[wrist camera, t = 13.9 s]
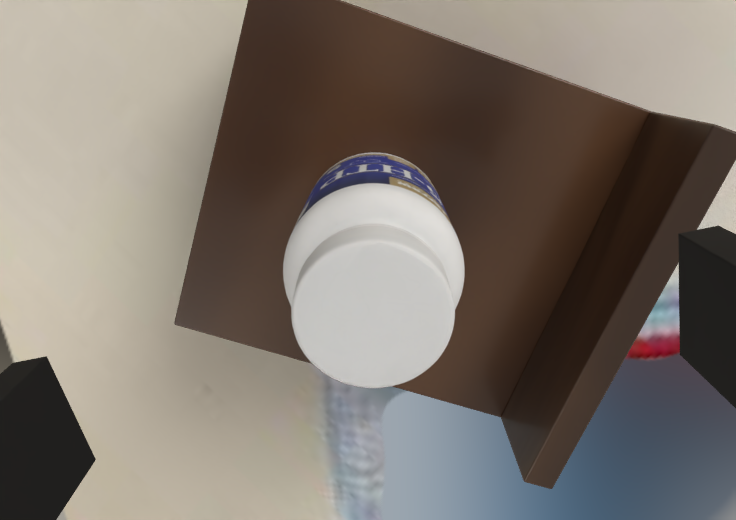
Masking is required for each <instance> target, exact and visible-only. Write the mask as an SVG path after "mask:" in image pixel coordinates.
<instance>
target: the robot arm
mask: <svg viewBox="0 0 736 520" xmlns="http://www.w3.org/2000/svg"><path fill="white" fill-rule="evenodd" d="M678 241H679V316H680V355H681V356H682V357H683V358H684V359H685V360H686V361H688V363H689V364H690V365H691V366H692V367H693V368H694V369H695V370H696V371H698V372H699V373H700V374H701V375H702V376H703V377H704V378H705V379H706V380H707V381H708V382H709V383H710V384H711V385H712V386H713V387H714V388H716V390H717V391H718V392H719V393H720V394H721V395H723V396H724V397H725V398H726V399H727V400H728V401H729V402H730V403H731V404H732V405H733V406H734V407H735V408H736V234H734V233H732V232H730V231H728V230H726V229H724V228H722V227H720V226H715V227H710V228H705V229H699V230H694V231H689V232H684V233H679V234H678ZM95 460H96V459H95V457H94V455H93V453H92V451H91V449H90V447H89V445H88V442H87V440H86V438H85V436H84V434H83V432H82V430H81V428H80V426H79V423H78V421H77V419H76V417H75V415H74V413H73V411H72V409H71V407H70V405H69V402H68V400H67V398H66V396H65V394H64V392H63V390H62V388H61V386H60V384H59V381H58V379H57V377H56V375H55V373H54V371H53V369H52V367H51V365H50V363H49V360H48V358H47V356H46V357H41V358H36V359H31V360H26V361H21V362H16V363H12V364H11V365H10V366H9V367H8V368H7V369H6V370H4V371H3V372H2V373H1V374H0V520H56V519H57V518H58V516H59V515H60V513H61V512H62V510H63V509H64V507H65V506H66V504H67V502H68V501H69V499H70V498H71V496H72V495H73V493H74V492H75V490H76V489H77V487H78V486H79V484H80V483H81V481H82V480H83V478H84V477H85V475H86V474H87V472H88V471H89V469H90V468H91V466H92V465H93V463H94V462H95Z"/></svg>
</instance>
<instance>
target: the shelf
mask: <svg viewBox="0 0 736 520" xmlns="http://www.w3.org/2000/svg"><path fill="white" fill-rule="evenodd" d="M362 153H386V154H391V155H394V156H398V157H400V158H402V159H404V160H406V161H408V162H410V163H412V164H413V165H415V166H416V167H418V168H419V169H420V170H421V171H422V172H423V173H424V174H425V175H426V176H427V177H428V178H429V180H430V181H431V183H432V184H433V186H434V187H435V189H436V191H437V193H438V195H439V197H440V199H441V202H442V204H443V206H444V208H445V210H446V213H447V215H448V217H449V219H450V221H451V223H452V226H453V228H454V230H455V232H456V234H457V237H458V240H459V243H460V245H461V249H462V253H463V258H464V267H465V276H464V285H463V290H462V294H461V297H460V300H459V302H458V305H457V307H456V309H455V321H454V327H453V331H452V335H451V337H450V340H449V342H448V345H447V346H446V348H445V350H444V352H443V353H442V355H441V356H440V357H439V359H438V360H437V361H436V362H435V363H434V364H433V365H432V366H431V367H430V368H428V369H427V370H426V371H425V372H423V373H422V374H420V375H419V376H417V377H416V378H414V379H412V380H409V381H407V382H405V383H402V384H398V385H395V386H393V387H396V388H400V389H403V390H407V391H410V392H414V393H417V394H421V395H424V396H428V397H431V398H435V399H439V400H442V401H446V402H449V403H453V404H456V405H460V406H463V407H467V408H470V409H474V410H477V411H481V412H484V413H488V414H491V415H495V416H498V417H501V419H502V422H503V425H504V427H505V430H506V433H507V436H508V439H509V441H510V444H511V447H512V450H513V452H514V455H515V458H516V461H517V463H518V466H519V469H520V472H521V475H522V477H523V480H524V482H527V483H531V484H534V485H538V486H542V487H546V488H549V489H552V488H553V486H554V485H555V483H556V481H557V479H558V477H559V476H560V474H561V472H562V470H563V468H564V467H565V465H566V463H567V461H568V459H569V458H570V456H571V454H572V452H573V450H574V449H575V447H576V445H577V443H578V442H579V440H580V438H581V436H582V434H583V432H584V431H585V429H586V427H587V425H588V424H589V422H590V420H591V418H592V416H593V415H594V413H595V411H596V409H597V407H598V406H599V404H600V402H601V400H602V399H603V397H604V395H605V393H606V391H607V390H608V388H609V386H610V384H611V382H612V381H613V379H614V377H615V375H616V373H617V371H618V370H619V368H620V366H621V364H622V363H623V361H624V359H625V357H626V356H627V354H628V352H629V350H630V348H631V347H632V345H633V343H634V341H635V339H636V338H637V336H638V334H639V332H640V330H641V329H642V327H643V325H644V323H645V321H646V320H647V318H648V316H649V314H650V313H651V311H652V309H653V307H654V305H655V304H656V302H657V300H658V298H659V296H660V295H661V293H662V291H663V289H664V287H665V286H666V284H667V282H668V280H669V278H670V277H671V275H672V273H673V271H674V270H675V268H676V266H677V264H678V262H679V241H678V234H679V233H684V232H689V231H694V230H697V228H698V227H699V225H700V223H701V221H702V219H703V218H704V216H705V214H706V212H707V210H708V209H709V207H710V205H711V203H712V201H713V200H714V198H715V196H716V194H717V192H718V191H719V189H720V187H721V185H722V184H723V182H724V180H725V178H726V176H727V175H728V173H729V171H730V169H731V167H732V166H733V164H734V162H735V160H736V132H735V131H732V130H729V129H726V128H723V127H721V126H718V125H715V124H710V123H705V122H700V121H696V120H691V119H686V118H681V117H676V116H671V115H666V114H661V113H656V112H651V111H648V110H646V109H643V108H640V107H637V106H635V105H632V104H629V103H626V102H623V101H621V100H618V99H615V98H612V97H609V96H607V95H604V94H601V93H598V92H595V91H593V90H590V89H587V88H584V87H581V86H579V85H576V84H573V83H570V82H567V81H565V80H562V79H559V78H556V77H553V76H551V75H548V74H545V73H542V72H539V71H537V70H534V69H531V68H528V67H525V66H523V65H520V64H517V63H514V62H512V61H509V60H506V59H503V58H500V57H498V56H495V55H492V54H489V53H486V52H484V51H481V50H478V49H475V48H472V47H470V46H467V45H464V44H461V43H458V42H456V41H453V40H450V39H447V38H444V37H442V36H439V35H436V34H433V33H430V32H428V31H425V30H422V29H419V28H416V27H414V26H411V25H408V24H405V23H403V22H400V21H397V20H394V19H391V18H389V17H386V16H383V15H380V14H377V13H375V12H372V11H369V10H366V9H363V8H361V7H358V6H355V5H352V4H349V3H347V2H344V1H341V0H248V4H247V8H246V13H245V17H244V21H243V26H242V30H241V34H240V39H239V43H238V47H237V52H236V56H235V61H234V65H233V69H232V74H231V78H230V82H229V87H228V91H227V95H226V100H225V104H224V109H223V113H222V117H221V122H220V126H219V130H218V135H217V139H216V143H215V148H214V152H213V157H212V161H211V165H210V170H209V174H208V178H207V183H206V187H205V192H204V196H203V200H202V205H201V209H200V213H199V218H198V222H197V226H196V231H195V235H194V240H193V244H192V248H191V253H190V257H189V261H188V266H187V270H186V274H185V279H184V283H183V288H182V292H181V296H180V301H179V305H178V309H177V314H176V318H175V325H178V326H182V327H185V328H189V329H192V330H196V331H199V332H203V333H206V334H210V335H213V336H217V337H220V338H224V339H228V340H231V341H235V342H238V343H242V344H245V345H249V346H252V347H256V348H259V349H263V350H266V351H270V352H273V353H277V354H280V355H284V356H287V357H291V358H294V359H298V360H301V361H305V362H308V363H311V362H310V361H309V359H308V358H307V357H306V356H305V354H304V353H303V351H302V349H301V348H300V346H299V344H298V342H297V339H296V337H295V334H294V330H293V326H292V318H291V305H290V303H289V300H288V297H287V295H286V290H285V286H284V279H283V262H284V256H285V251H286V246H287V244H288V241H289V238H290V236H291V233H292V231H293V229H294V227H295V224H296V222H297V220H298V218H299V216H300V214H301V212H302V210H303V208H304V206H305V204H306V201H307V199H308V197H309V195H310V193H311V191H312V189H313V188H314V186H315V184H316V183H317V181H318V180H319V179H320V178H321V176H322V175H323V174H324V173H325V172H326V171H327V170H328V169H330V168H331V167H332V166H334V165H335V164H336V163H338V162H340V161H342V160H344V159H346V158H348V157H351V156H354V155H357V154H362Z"/></svg>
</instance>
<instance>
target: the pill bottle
mask: <svg viewBox="0 0 736 520" xmlns="http://www.w3.org/2000/svg"><path fill="white" fill-rule="evenodd" d="M464 276H465V267H464V258H463V253H462V249H461V245H460V243H459V240H458V237H457V234H456V232H455V230H454V228H453V226H452V223H451V221H450V219H449V217H448V215H447V213H446V210H445V208H444V206H443V204H442V202H441V199H440V197H439V195H438V193H437V191H436V189H435V187H434V186H433V184H432V183H431V181H430V180H429V178H428V177H427V176H426V175H425V174H424V173H423V172H422V171H421V170H420V169H419V168H418V167H416V166H415V165H413V164H412V163H410V162H408V161H406V160H404V159H402V158H400V157H398V156H394V155H391V154H386V153H362V154H357V155H354V156H351V157H348V158H346V159H344V160H342V161H340V162H338V163H336V164H335V165H334V166H332V167H331V168H330V169H328V170H327V171H326V172H325V173H324V174H323V175H322V176H321V178H320V179H319V180H318V181H317V183H316V184H315V186H314V188H313V189H312V191H311V193H310V195H309V197H308V199H307V201H306V204H305V206H304V208H303V210H302V212H301V214H300V216H299V218H298V220H297V222H296V224H295V227H294V229H293V231H292V233H291V236H290V238H289V241H288V244H287V246H286V251H285V256H284V262H283V279H284V286H285V290H286V295H287V297H288V300H289V303H290V305H291V318H292V326H293V330H294V334H295V337H296V339H297V342H298V344H299V346H300V348H301V349H302V351H303V353H304V354H305V356H306V357H307V358H308V359H309V361H310V362H311V363H312V364H313V365H315V366H316V367H317V368H318V369H319V370H320V371H322V372H323V373H324V374H326V375H328V376H329V377H331V378H333V379H335V380H337V381H339V382H342V383H345V384H348V385H352V386H357V387H362V388H384V387H390V386H395V385H398V384H402V383H405V382H407V381H409V380H412V379H414V378H416V377H417V376H419V375H420V374H422V373H423V372H425V371H426V370H427V369H428V368H430V367H431V366H432V365H433V364H434V363H435V362H436V361H437V360H438V359H439V357H440V356H441V355H442V353H443V352H444V350H445V348H446V346H447V345H448V342H449V340H450V337H451V335H452V331H453V327H454V321H455V309H456V307H457V305H458V302H459V300H460V297H461V294H462V290H463V285H464Z"/></svg>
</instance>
